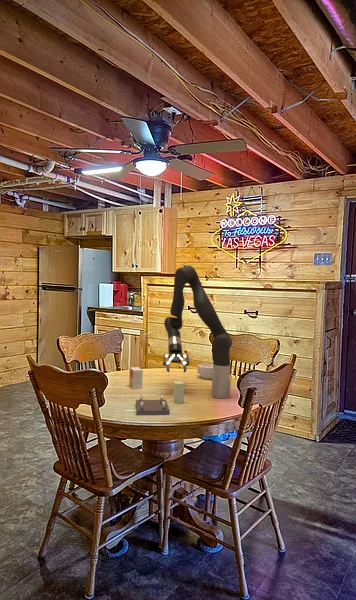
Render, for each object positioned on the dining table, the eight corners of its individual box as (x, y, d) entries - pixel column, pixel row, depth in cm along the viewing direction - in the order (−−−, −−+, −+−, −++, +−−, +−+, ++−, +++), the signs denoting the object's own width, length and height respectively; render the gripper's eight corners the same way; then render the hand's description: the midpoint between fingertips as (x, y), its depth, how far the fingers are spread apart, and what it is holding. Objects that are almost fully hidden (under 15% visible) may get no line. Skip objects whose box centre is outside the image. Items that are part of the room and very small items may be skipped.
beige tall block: (182, 400, 215) (182, 381, 214) (183, 403, 210) (184, 383, 209) (173, 400, 214) (174, 381, 214) (174, 403, 209) (175, 383, 209)
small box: (129, 385, 242) (129, 367, 241) (138, 384, 244) (138, 366, 243) (132, 389, 234) (133, 370, 234) (142, 388, 236) (142, 369, 236)
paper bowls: (209, 373, 277) (210, 362, 277) (226, 378, 266) (226, 366, 265) (192, 376, 268) (192, 364, 267) (208, 381, 256) (208, 368, 256)
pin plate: (166, 403, 209) (166, 393, 208) (169, 414, 192) (169, 404, 192) (135, 403, 207) (136, 393, 207) (136, 415, 190) (136, 404, 190)
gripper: (162, 342, 229) (163, 367, 218) (188, 342, 230) (190, 367, 220) (161, 350, 234) (162, 375, 223) (186, 350, 236) (189, 375, 225)
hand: (176, 371), depth 222 cm, fingers open, 8 cm apart
